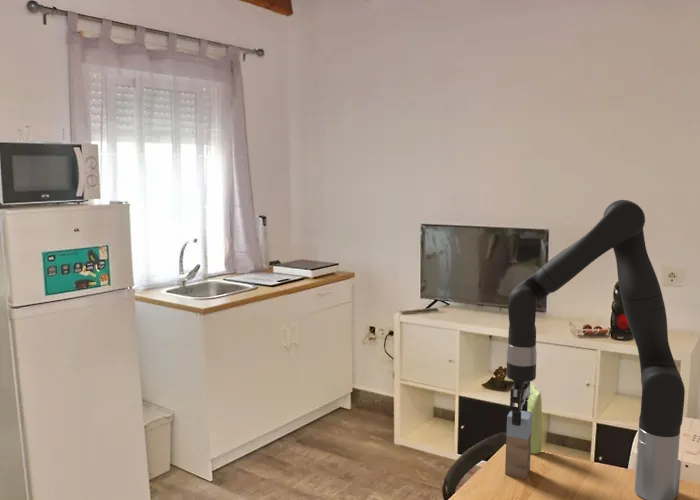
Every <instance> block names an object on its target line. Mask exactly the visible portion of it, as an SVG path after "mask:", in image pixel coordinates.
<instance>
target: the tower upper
mask: <svg viewBox="0 0 700 500" xmlns="http://www.w3.org/2000/svg"><path fill="white" fill-rule="evenodd" d="M505 437H506V438H505V456H506V455H507V456H512V457H517V458H522V459H527V458H528V456H529V453H530V451H531V434H530V436H529V438H528V440H526V439H521V438H516V437H510V436H506V435H505Z"/></svg>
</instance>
